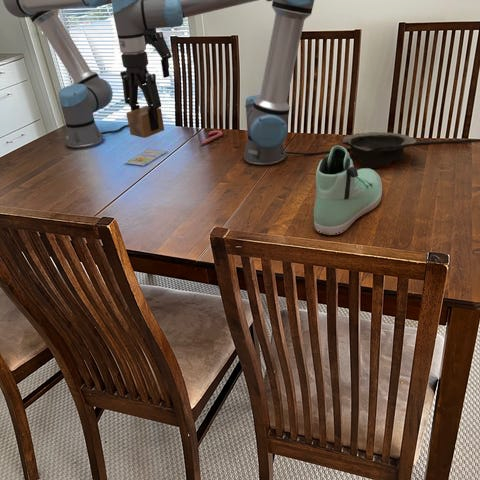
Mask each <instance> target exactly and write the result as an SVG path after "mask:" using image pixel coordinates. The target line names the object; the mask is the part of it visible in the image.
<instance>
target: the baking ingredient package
mask: <svg viewBox="0 0 480 480" xmlns="http://www.w3.org/2000/svg"><path fill="white" fill-rule="evenodd" d="M165 153H166V151H162V150H155V149H146V150H145V151H143V152H141V153H139V154H138V155H136V156H134V157H132V158H131V159H129V160H126V161H125V162H124V163H125V164H130V165H137V166H145V165H147V164H149V163H151V162H152V161H154V160H155V159H157V158H159V157H160V156H162V155H163V154H165Z"/></svg>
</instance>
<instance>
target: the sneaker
mask: <svg viewBox="0 0 480 480" xmlns="http://www.w3.org/2000/svg"><path fill="white" fill-rule="evenodd" d="M346 149H347V148H345V147H344V146H342V145H334V146H333V147H331V149H330V151H331V152H330V153H328V154H327V155H326V156H325V157H324V158H322V159H321V160H320V161H319V163H318V164H317V165H318V166H317V168H316V172H315V201H314V207H313V225H314V229H315V231H316V232H318V233H320V234H323V235H326V236H327V235H328V236H336V235H339V234H342V233H344V232H345V231H347V230H348V229H349V228H350V227H351V226H352V225H353V224H354V222H356V221H357V220H358V219H359V218H360V217H362V216H363V215H365V214H367V213H370V212H372V210H374V209H375V208H377V207H378V205H380V203H381V200H382V196H383V184H382V183H383V182H382V179H381V176H380V175H379V173H378V172H377V171H376V170H374V169H372V168H369V167H363V168H358V169H357V168H355V167H354V161H353V159H352V158H351V156H350V153H349V152H348V150H346ZM343 230H344V231H343ZM319 231H320V232H319ZM322 232H323V233H322ZM339 232H340V233H339ZM326 233H327V234H326ZM328 233H329V234H328ZM335 233H337V234H335Z"/></svg>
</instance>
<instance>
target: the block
mask: <svg viewBox="0 0 480 480" xmlns="http://www.w3.org/2000/svg"><path fill="white" fill-rule="evenodd" d="M148 109H149V107H148V105H144V106H142V107H141V106H140V108H139V109H136V110H133V111H131V110H130V111H127V112H126V119H127V125H129V127H128V129H129V134H130V136H134V137H138V138H143V139H146V138H149V137H151V136H154V135H157V134H159V133H161V132H164V131H165V125H164V120H163V118H164V117H163V113H162V108H161V107H159V108H157V113H158V125H159V129H157V130H154V131H151V127H150V121H149V115H148Z"/></svg>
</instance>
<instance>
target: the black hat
mask: <svg viewBox="0 0 480 480" xmlns="http://www.w3.org/2000/svg"><path fill="white" fill-rule="evenodd" d="M417 142H418V141H417V139H415V138H413V137H411V136H409V135H407V134H402V133H397V132H384V131H383V132H381V131H379V132H378V131H377V132H375V131H370V132H359V133H358V132H357V133H353V134H350V135H345V136H344V137H342V141H341V144H342V145H346V146H348V147H349V148H351V150H350V152H351V155H352V156H353V157H354V159H356V160H358V161H359V162H360V166H361V167H363V168H369V169H372V168H373V169H377V168H380V167H382V168H385V167H389V166H390V165H391V164H392V162H393V163H394V162H395V163H397V162H401V161H402V160H403V156H404V148H408V147H411V146H413V145H416V144H415V143H417Z"/></svg>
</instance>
